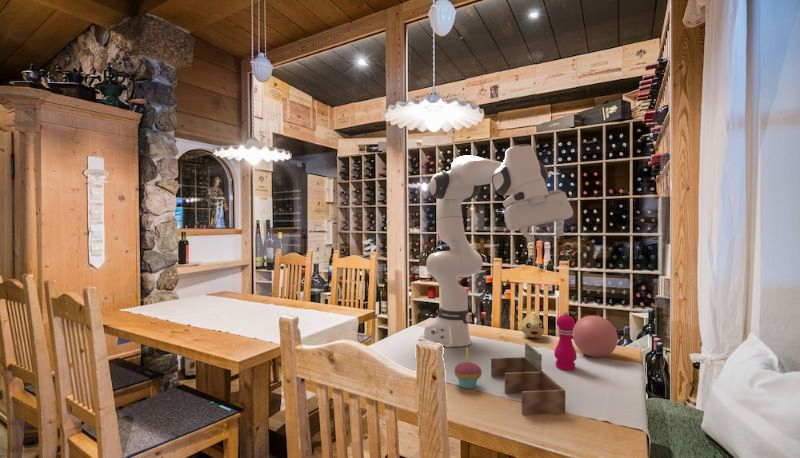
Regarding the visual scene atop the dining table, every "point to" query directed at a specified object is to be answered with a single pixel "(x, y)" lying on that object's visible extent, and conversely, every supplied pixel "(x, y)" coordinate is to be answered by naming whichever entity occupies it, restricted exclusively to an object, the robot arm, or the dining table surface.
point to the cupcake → (467, 373)
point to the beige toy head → (532, 326)
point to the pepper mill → (565, 343)
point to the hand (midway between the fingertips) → (546, 238)
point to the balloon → (595, 336)
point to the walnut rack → (530, 382)
